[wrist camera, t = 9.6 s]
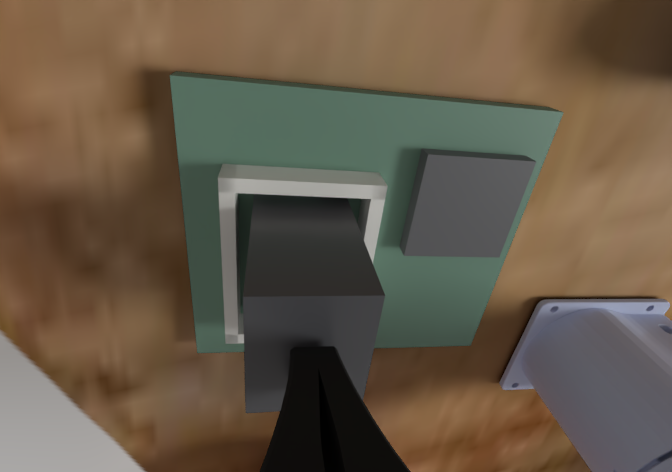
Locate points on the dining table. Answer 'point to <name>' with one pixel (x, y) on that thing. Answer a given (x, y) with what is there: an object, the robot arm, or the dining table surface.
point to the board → (358, 192)
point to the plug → (306, 292)
